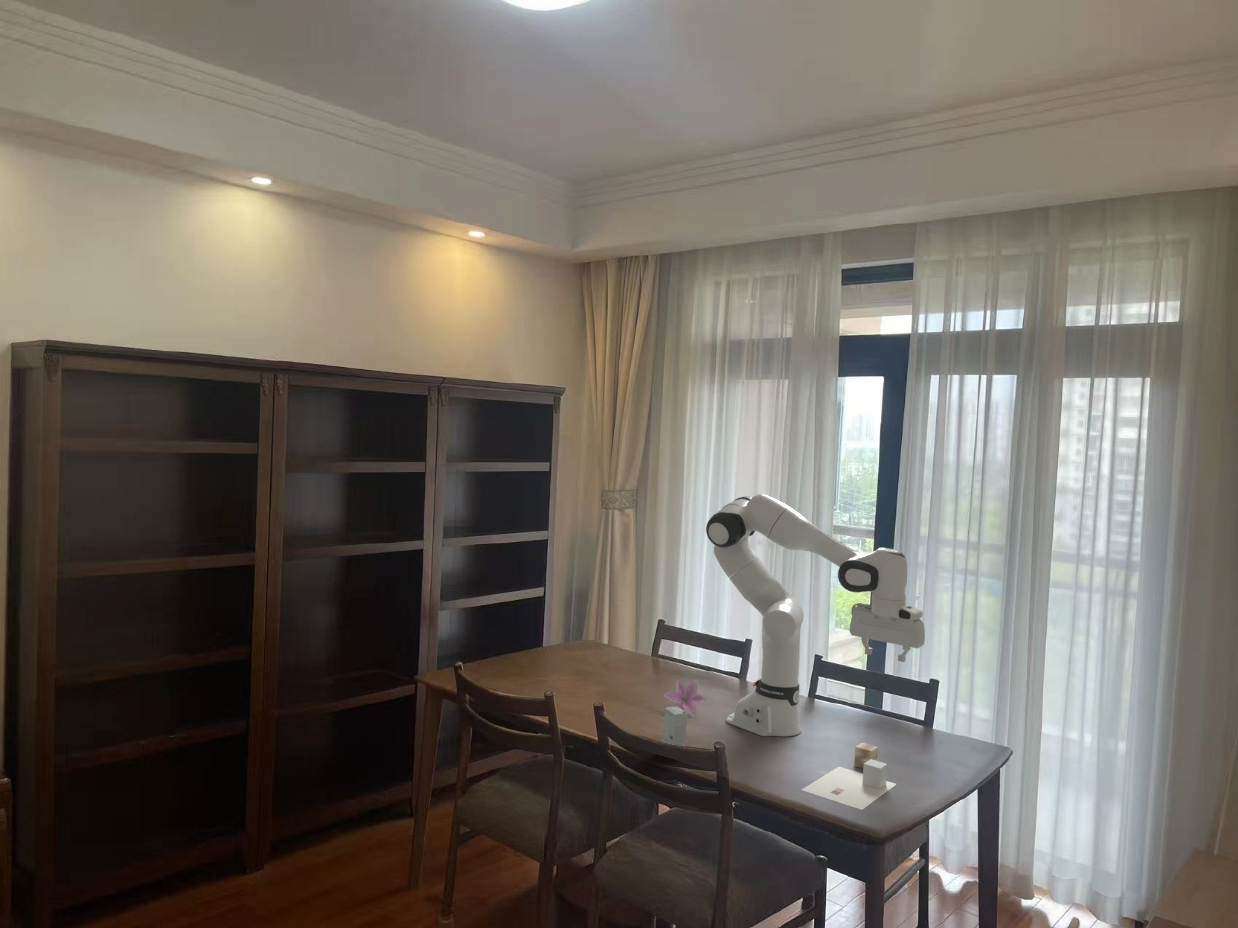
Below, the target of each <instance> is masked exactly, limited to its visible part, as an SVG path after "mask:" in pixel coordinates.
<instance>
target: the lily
mask: <svg viewBox="0 0 1238 928" xmlns="http://www.w3.org/2000/svg"><path fill="white" fill-rule="evenodd" d="M699 682H700V681H699V679H698V678H697V679H694V680H692V681H691V682H689V683H688V684H687V685H685V684H684V683H683V682H681V680H679V679H676V690H672V691H669V692H666V693H664V694H663V696H664V697H665V698H666V699H667V700H669V701H671V702H673V703H675V706H674V707H677V706H678V707H679V708H680V709H682V710H684V711H685V712H686V713H687V714H689V715H690V716H692V717H693V718H696V717H697V704H699V703H702V702H705V701H706V700H707V699H706V697H705V696H702V695H700V694H698V693H697V692H698V689H699V684H700V683H699Z"/></svg>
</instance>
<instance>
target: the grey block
mask: <svg viewBox="0 0 1238 928" xmlns="http://www.w3.org/2000/svg"><path fill="white" fill-rule="evenodd" d="M862 774H863V781H862V785H865V786H868V787H871V788H874V789H877V790H880V789H881V788H883V787H884V786H885V785H886V781H887V777H888V776H887V774H888V763H886V762H882V761H879V760H877V761H876V760H872V759H870V760H869V761H867V762H865V763H864V766H863V768H862Z"/></svg>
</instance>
